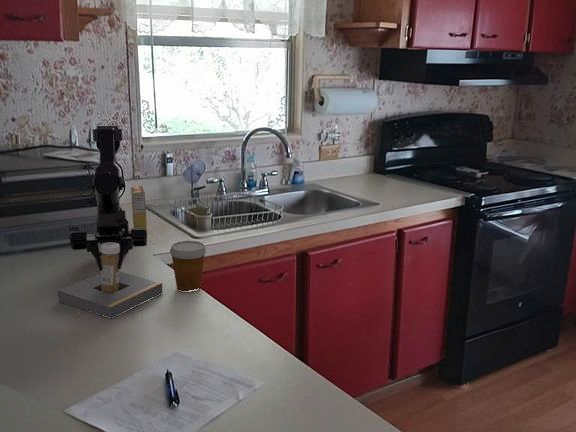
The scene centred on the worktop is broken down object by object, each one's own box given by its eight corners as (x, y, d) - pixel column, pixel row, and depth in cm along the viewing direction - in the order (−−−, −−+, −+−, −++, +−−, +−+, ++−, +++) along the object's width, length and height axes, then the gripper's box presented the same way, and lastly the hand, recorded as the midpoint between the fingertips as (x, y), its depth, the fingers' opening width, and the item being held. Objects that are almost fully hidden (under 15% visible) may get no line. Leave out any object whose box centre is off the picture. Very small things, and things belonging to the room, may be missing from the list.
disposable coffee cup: (172, 296, 157) (171, 252, 154) (169, 282, 166) (168, 241, 163) (208, 293, 160) (208, 250, 156) (204, 280, 168) (203, 239, 165)
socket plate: (112, 279, 167) (111, 268, 166) (162, 294, 158) (162, 282, 157) (59, 301, 152) (58, 289, 151) (111, 319, 143) (110, 306, 142)
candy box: (132, 228, 212) (130, 186, 208) (145, 228, 213) (143, 185, 209) (134, 236, 204) (132, 192, 200) (147, 235, 205) (145, 191, 201)
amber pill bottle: (122, 294, 156) (123, 244, 152) (108, 299, 152) (109, 248, 148) (110, 289, 158) (111, 240, 154) (96, 294, 154) (96, 244, 151)
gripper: (67, 200, 150) (67, 258, 142) (145, 197, 154) (148, 253, 147) (72, 221, 159) (72, 276, 152) (145, 218, 164) (148, 271, 157)
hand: (110, 269), depth 152 cm, fingers closed on amber pill bottle, 4 cm apart
